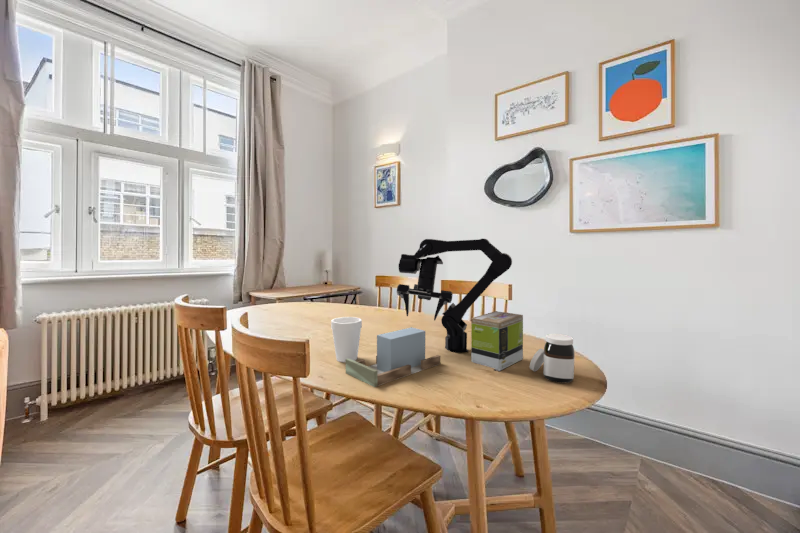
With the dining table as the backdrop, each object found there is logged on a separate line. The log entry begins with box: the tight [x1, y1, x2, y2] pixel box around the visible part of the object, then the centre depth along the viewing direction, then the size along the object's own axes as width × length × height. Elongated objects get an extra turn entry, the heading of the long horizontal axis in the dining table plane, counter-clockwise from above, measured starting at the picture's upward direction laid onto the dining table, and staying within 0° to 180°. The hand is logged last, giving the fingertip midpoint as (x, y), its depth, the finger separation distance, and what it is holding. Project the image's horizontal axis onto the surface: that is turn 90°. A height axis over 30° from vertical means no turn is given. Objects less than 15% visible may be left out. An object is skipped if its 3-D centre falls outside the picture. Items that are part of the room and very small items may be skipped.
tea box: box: [470, 310, 524, 372], centre depth 111 cm, size 15×10×15 cm, turn 134°
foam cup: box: [330, 316, 363, 363], centre depth 112 cm, size 10×9×13 cm
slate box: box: [376, 326, 426, 372], centre depth 105 cm, size 14×6×10 cm, turn 132°
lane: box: [345, 354, 442, 388], centre depth 104 cm, size 26×25×5 cm
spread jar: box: [529, 333, 576, 384], centre depth 99 cm, size 12×11×12 cm
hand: (420, 318), depth 119 cm, fingers open, 9 cm apart
